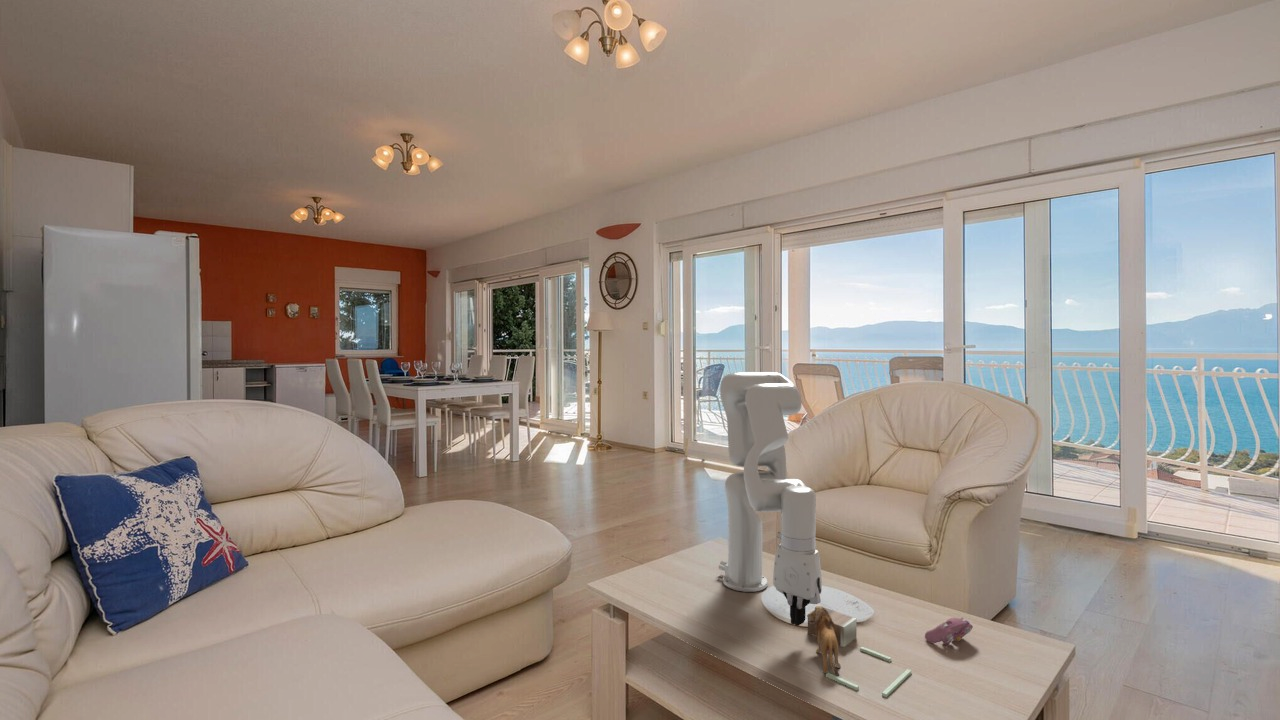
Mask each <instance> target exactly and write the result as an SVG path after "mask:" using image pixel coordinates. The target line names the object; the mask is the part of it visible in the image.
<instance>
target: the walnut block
mask: <svg viewBox="0 0 1280 720" xmlns="http://www.w3.org/2000/svg"><path fill="white" fill-rule="evenodd" d="M820 606H821V605H820ZM821 607H823V608H824V609H826V610H827V611H828V612H829V613H828V614H829V615H830V616H831V618H832V621H833V622H834V625H835V631H834V632H835V635H836V638H837V642H838V646H840V647H843V648H845V647H846V646H847V645H849V644H850V643H852V642H853V641H854V640H856V639H857V630H858V629H857V627H858V626H857V625H858V623H857V618H856V617H853V616H849V615H847V614H844V613H842V612H839V611H836V610H832V609H831V608H827V607H824V606H821ZM813 611H814V610H812V611H810V612H809V613H808V614H810V613H812V612H813ZM807 634H809V635H811V636H815V637H817V638H818V634H817V631H816V628H815V624H814V623H810V621H809V620H808V619H807Z"/></svg>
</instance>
